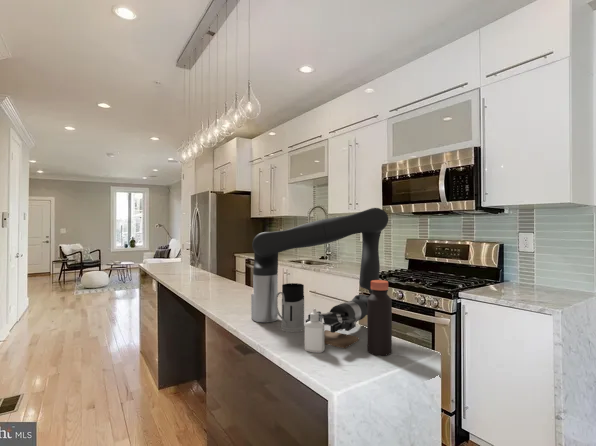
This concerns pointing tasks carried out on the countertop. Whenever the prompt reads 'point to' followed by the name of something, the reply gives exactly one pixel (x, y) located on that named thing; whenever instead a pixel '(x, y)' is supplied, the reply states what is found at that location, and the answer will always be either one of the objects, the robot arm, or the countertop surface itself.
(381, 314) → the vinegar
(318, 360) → the countertop surface
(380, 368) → the countertop surface
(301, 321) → the glass holder
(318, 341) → the eye dropper bottle
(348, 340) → the walnut board
